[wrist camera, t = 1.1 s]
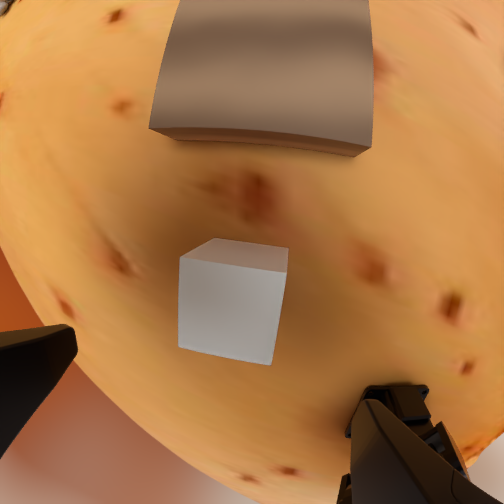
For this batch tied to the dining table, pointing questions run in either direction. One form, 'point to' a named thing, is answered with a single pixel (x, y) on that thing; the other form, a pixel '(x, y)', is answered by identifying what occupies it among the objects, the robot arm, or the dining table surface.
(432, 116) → the dining table surface
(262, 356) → the grey-blue block
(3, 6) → the chubby cartoon animal
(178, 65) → the walnut block
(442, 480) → the robot arm
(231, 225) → the dining table surface
